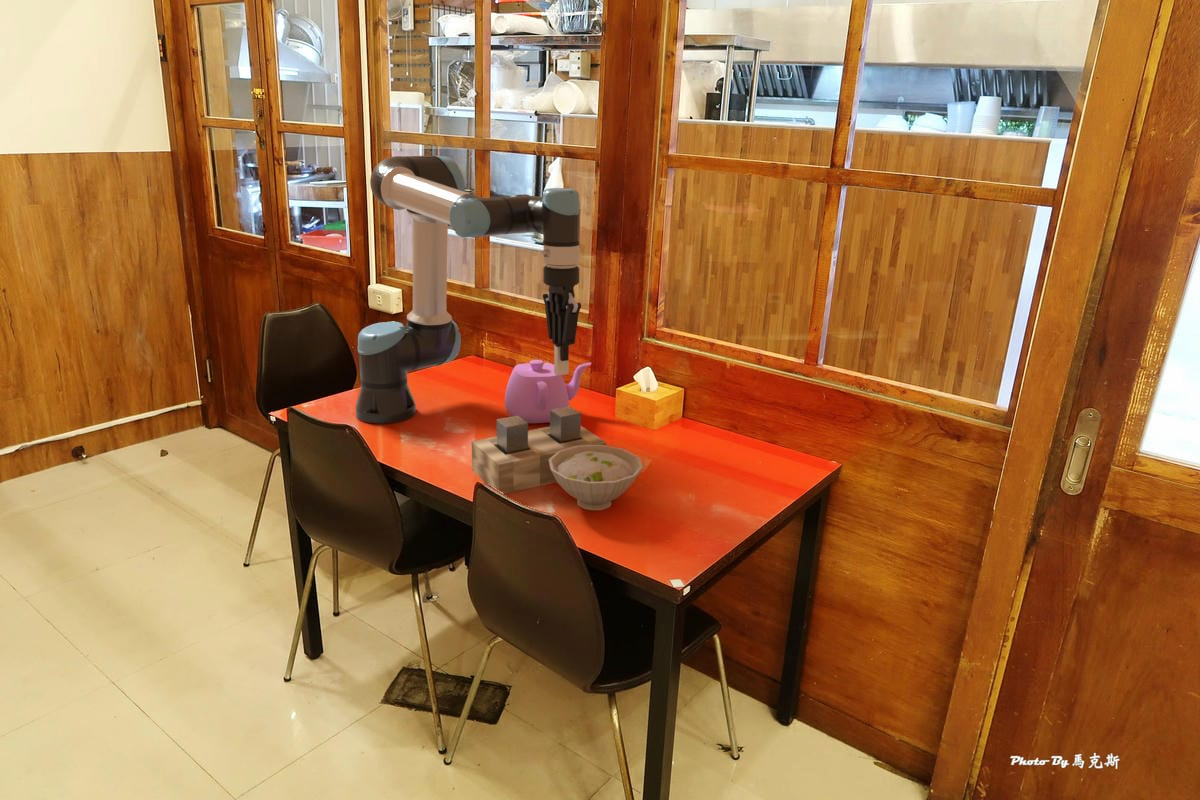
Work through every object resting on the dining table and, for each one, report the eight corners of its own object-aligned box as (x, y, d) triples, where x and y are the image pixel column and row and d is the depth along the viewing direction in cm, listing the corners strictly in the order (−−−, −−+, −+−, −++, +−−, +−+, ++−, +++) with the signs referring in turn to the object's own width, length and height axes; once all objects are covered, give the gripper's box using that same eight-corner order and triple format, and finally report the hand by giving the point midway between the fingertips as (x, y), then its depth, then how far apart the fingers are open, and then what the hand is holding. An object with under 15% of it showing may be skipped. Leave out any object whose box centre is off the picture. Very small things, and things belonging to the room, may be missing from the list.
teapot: (511, 435, 197) (510, 377, 192) (501, 406, 216) (500, 352, 211) (600, 430, 202) (602, 373, 197) (583, 402, 221) (584, 349, 216)
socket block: (472, 470, 177) (471, 441, 174) (574, 449, 190) (574, 421, 187) (498, 495, 165) (498, 464, 163) (605, 471, 178) (606, 442, 176)
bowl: (567, 532, 152) (568, 484, 148) (534, 490, 168) (534, 446, 165) (657, 515, 159) (660, 469, 156) (617, 476, 176) (619, 434, 172)
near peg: (496, 447, 173) (496, 419, 171) (517, 443, 175) (517, 415, 173) (506, 455, 169) (506, 426, 167) (527, 451, 171) (527, 423, 169)
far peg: (549, 436, 179) (550, 409, 177) (569, 433, 182) (569, 406, 180) (560, 444, 175) (561, 417, 173) (580, 440, 178) (580, 413, 176)
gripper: (531, 262, 169) (532, 368, 177) (560, 271, 159) (560, 384, 166) (562, 259, 173) (562, 364, 180) (592, 268, 162) (591, 379, 170)
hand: (561, 373), depth 173 cm, fingers closed
